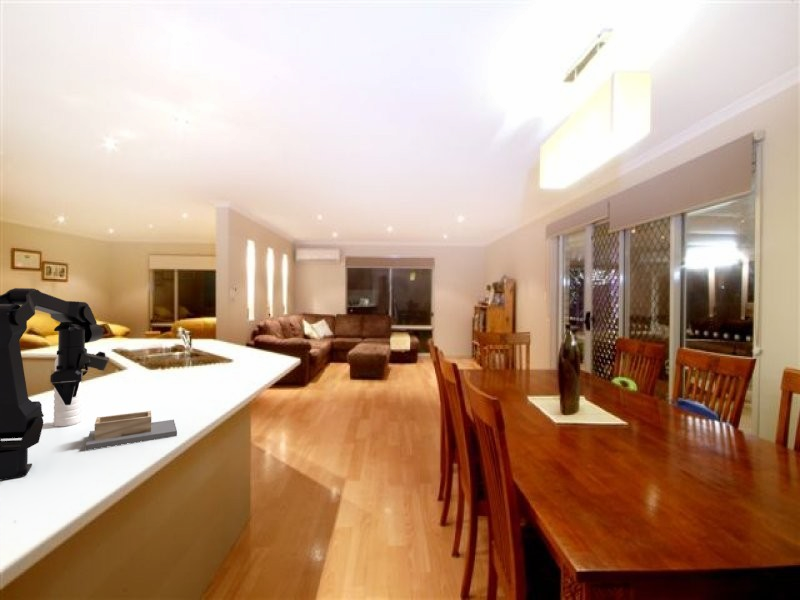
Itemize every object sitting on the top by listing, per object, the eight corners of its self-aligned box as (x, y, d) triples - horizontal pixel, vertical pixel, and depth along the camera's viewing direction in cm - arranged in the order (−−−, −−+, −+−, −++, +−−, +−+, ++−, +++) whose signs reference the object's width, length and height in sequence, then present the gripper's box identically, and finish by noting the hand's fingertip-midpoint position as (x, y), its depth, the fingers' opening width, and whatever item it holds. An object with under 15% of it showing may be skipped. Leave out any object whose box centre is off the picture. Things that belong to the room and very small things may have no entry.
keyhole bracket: (151, 431, 112) (151, 416, 112) (94, 440, 105) (94, 424, 104) (150, 425, 117) (150, 410, 117) (96, 433, 110) (96, 417, 110)
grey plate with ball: (176, 435, 113) (177, 423, 113) (85, 450, 101) (85, 436, 101) (173, 424, 123) (173, 412, 123) (90, 436, 111) (90, 423, 111)
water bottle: (75, 425, 119) (76, 345, 119) (49, 427, 117) (50, 346, 117) (87, 417, 128) (88, 342, 127) (62, 419, 125) (64, 342, 125)
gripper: (104, 348, 105) (103, 405, 105) (109, 340, 121) (108, 390, 121) (50, 351, 99) (49, 411, 99) (63, 342, 114) (62, 394, 115)
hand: (70, 400), depth 109 cm, fingers open, 9 cm apart
